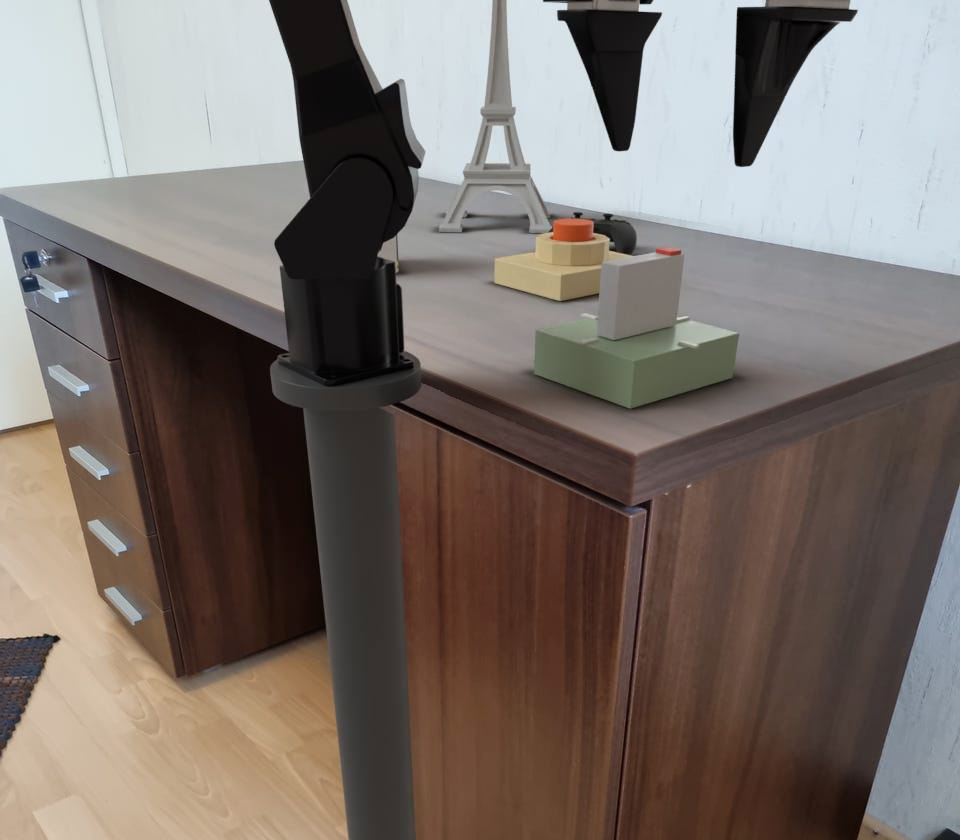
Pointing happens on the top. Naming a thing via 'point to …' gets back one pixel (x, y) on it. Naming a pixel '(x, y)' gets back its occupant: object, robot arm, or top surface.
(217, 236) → the top surface
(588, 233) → the button
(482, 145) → the eiffel tower
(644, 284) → the white square block
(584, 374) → the panel
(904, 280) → the top surface
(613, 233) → the gaming controller
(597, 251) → the switch
